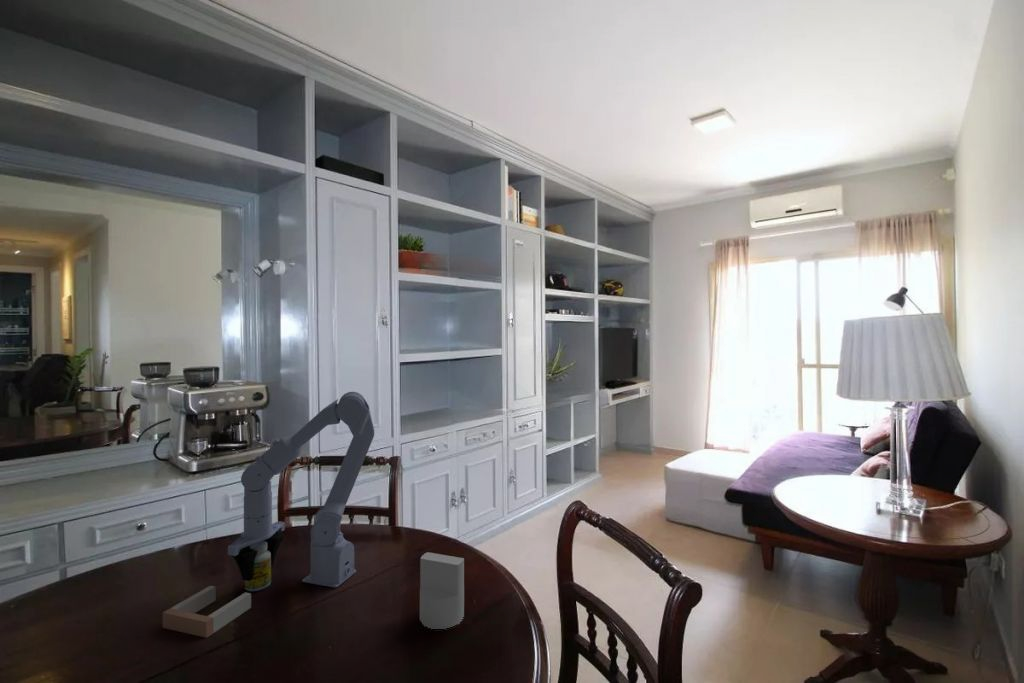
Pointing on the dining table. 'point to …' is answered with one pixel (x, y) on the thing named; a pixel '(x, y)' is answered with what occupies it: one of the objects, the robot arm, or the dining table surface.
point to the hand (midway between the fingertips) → (257, 573)
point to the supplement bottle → (260, 568)
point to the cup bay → (201, 625)
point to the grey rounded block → (441, 590)
